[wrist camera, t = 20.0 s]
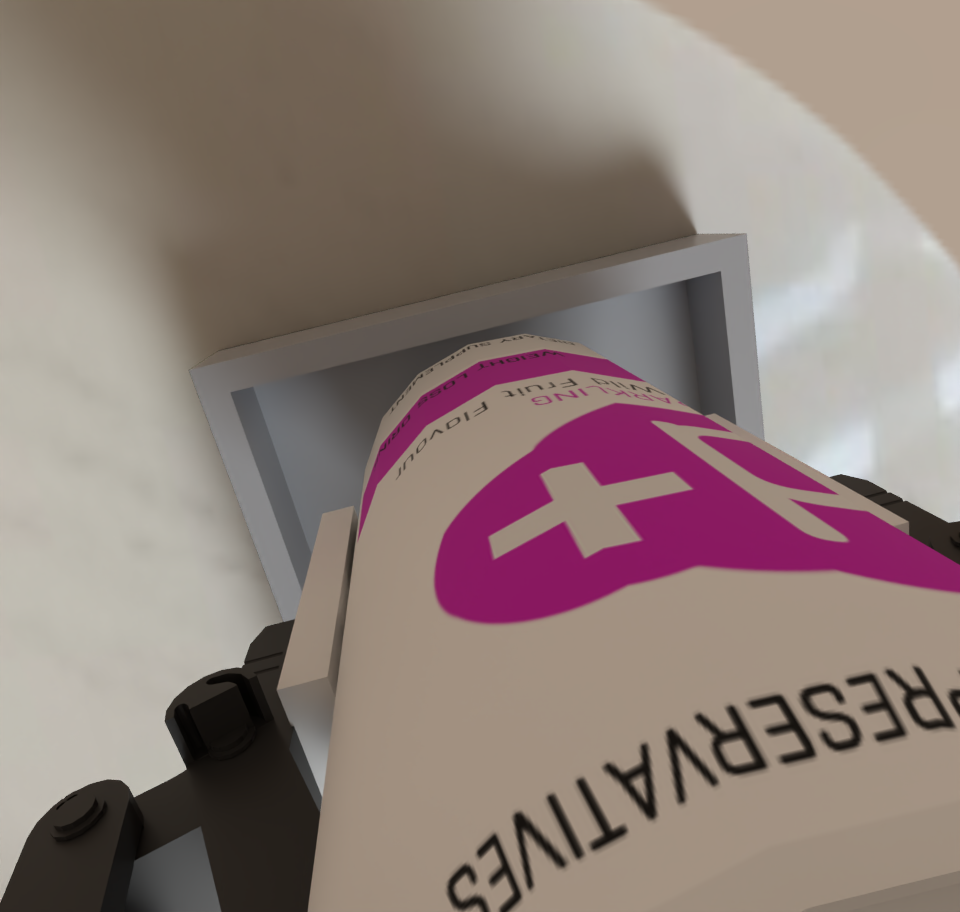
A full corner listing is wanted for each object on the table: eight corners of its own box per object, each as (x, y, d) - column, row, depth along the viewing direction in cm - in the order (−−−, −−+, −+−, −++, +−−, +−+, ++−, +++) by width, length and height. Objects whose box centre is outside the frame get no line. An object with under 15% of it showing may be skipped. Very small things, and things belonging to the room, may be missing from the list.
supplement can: (387, 307, 17) (343, 695, 3) (692, 359, 18) (1750, 800, 4) (347, 594, 19) (211, 1624, 5) (621, 621, 20) (1126, 1486, 6)
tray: (387, 822, 26) (386, 893, 23) (217, 351, 20) (188, 370, 17) (751, 721, 27) (794, 778, 24) (698, 234, 21) (746, 233, 18)
